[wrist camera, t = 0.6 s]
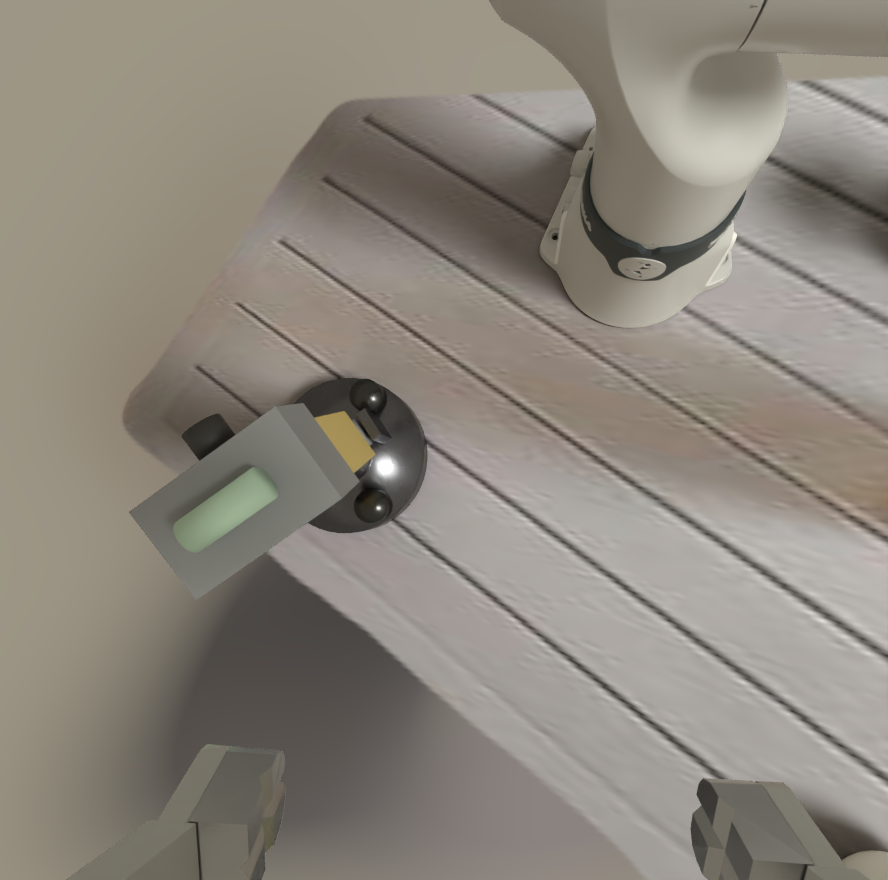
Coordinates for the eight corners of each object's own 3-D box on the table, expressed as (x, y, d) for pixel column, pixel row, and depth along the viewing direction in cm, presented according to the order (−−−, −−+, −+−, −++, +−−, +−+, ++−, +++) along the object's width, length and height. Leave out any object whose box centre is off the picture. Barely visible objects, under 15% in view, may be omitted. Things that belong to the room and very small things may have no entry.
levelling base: (261, 438, 58) (225, 430, 51) (376, 356, 57) (354, 336, 50) (333, 560, 55) (304, 569, 48) (456, 476, 54) (444, 473, 47)
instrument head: (268, 437, 52) (78, 489, 26) (348, 379, 51) (235, 373, 25) (315, 501, 52) (176, 616, 26) (395, 446, 51) (333, 507, 26)
